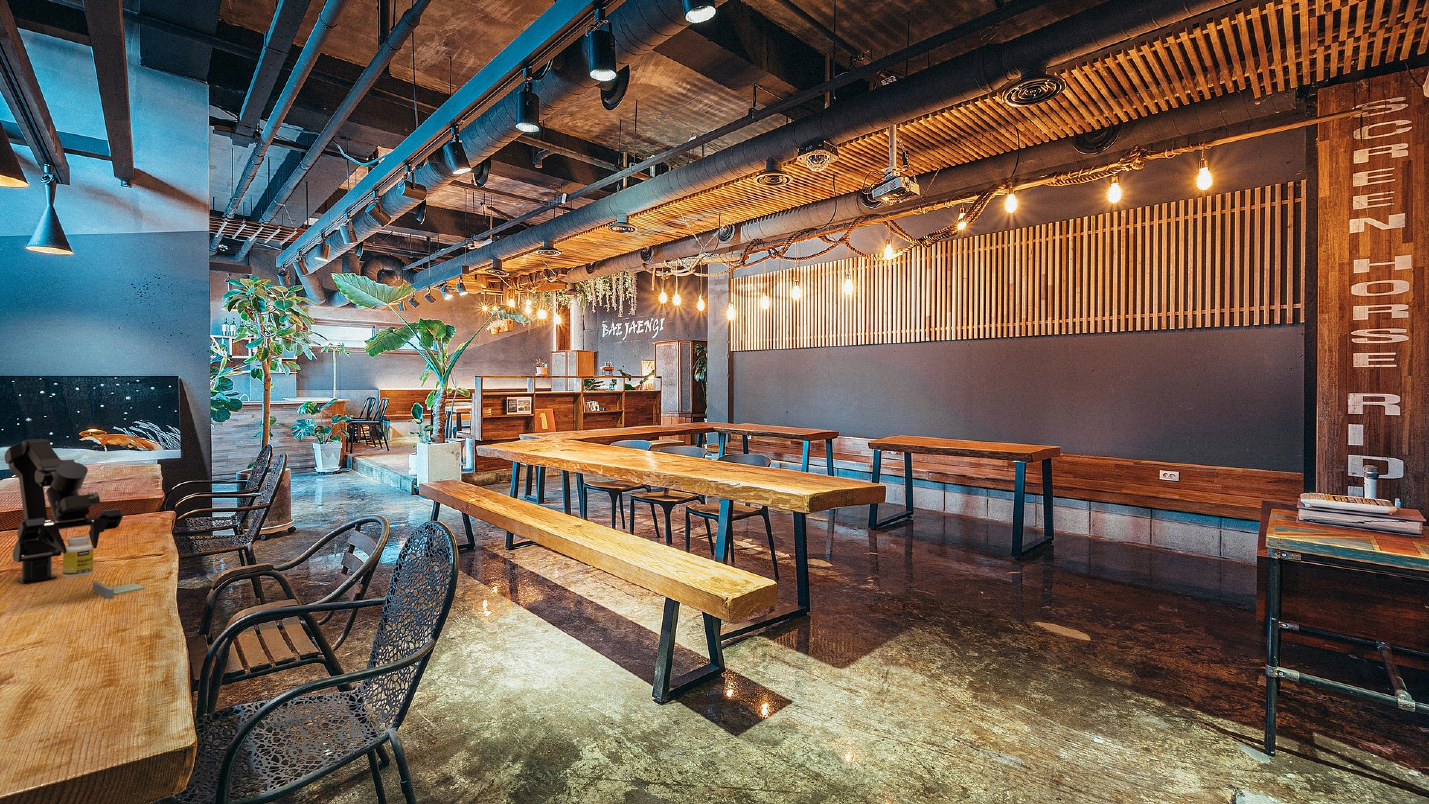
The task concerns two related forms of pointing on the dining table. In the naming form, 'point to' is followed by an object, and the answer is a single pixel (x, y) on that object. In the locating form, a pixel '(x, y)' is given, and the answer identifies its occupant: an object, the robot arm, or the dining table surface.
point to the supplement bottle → (78, 557)
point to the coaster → (127, 588)
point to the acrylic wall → (103, 590)
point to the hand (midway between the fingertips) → (80, 549)
